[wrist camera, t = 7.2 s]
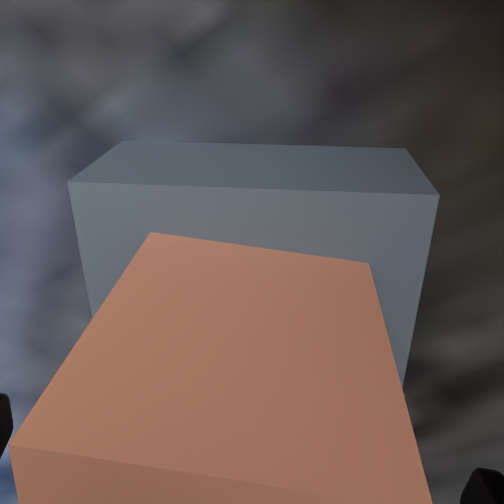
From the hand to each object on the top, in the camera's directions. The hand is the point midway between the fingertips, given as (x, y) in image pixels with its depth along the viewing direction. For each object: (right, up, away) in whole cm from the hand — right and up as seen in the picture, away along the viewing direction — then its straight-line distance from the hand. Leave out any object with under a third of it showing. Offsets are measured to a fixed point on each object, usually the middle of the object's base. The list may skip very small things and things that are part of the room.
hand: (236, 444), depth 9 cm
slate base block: (+1, +3, +6) cm, 7 cm away
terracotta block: (0, +2, +3) cm, 3 cm away
